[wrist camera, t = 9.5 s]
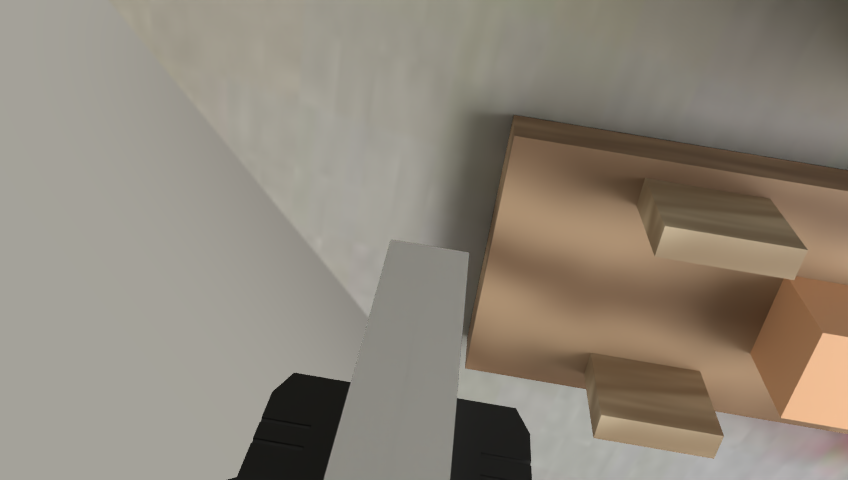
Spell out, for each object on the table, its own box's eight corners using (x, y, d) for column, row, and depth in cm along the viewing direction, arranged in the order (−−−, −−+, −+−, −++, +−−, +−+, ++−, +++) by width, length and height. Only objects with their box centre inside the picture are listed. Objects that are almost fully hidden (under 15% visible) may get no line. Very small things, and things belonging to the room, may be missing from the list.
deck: (513, 115, 38) (515, 178, 31) (1066, 206, 37) (1196, 292, 30) (467, 336, 45) (460, 430, 38) (935, 416, 44) (1016, 526, 37)
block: (785, 274, 37) (823, 332, 33) (885, 291, 37) (935, 352, 33) (750, 353, 40) (780, 417, 35) (843, 369, 40) (885, 436, 35)
